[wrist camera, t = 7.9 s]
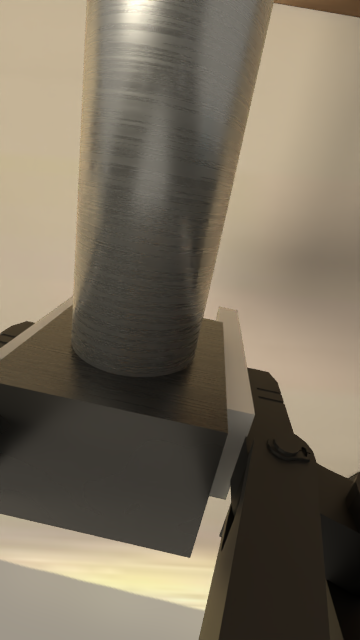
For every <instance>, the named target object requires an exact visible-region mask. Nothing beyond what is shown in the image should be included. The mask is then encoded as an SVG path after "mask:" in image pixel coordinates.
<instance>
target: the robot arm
mask: <svg viewBox="0 0 360 640" xmlns="http://www.w3.org/2000/svg"><path fill="white" fill-rule="evenodd" d="M71 305H73V296H72V297H71V298H70V299H68V300H67V301H65V302H64V303H63V304H61V305H60V306H58V307H57V308H56V309H54V310H53V311H51V312H50V313H49V314H47V315H46V316H45V317H43V318H42V319H40V320H39V321H38V322H36V323H33V322H28V321H26V322H23V323H20V324H16V325H13V326H11V327H9V328H8V329H6V330H5V331H3V332H2V333H1V334H0V360H1V359H3V358H4V357H5V356H6V355H8V354H9V353H10V352H12V351H13V350H14V349H16V348H17V347H18V346H19V345H21V344H22V343H23V342H25V341H26V340H27V339H28V338H30V337H31V336H32V335H34V334H35V333H36V332H38V331H39V330H40V329H41V328H43V327H44V326H45V325H47V324H48V323H49V322H51V321H52V320H53V319H54V318H56V317H57V316H58V315H60V314H61V313H62V312H63V311H65V310H66V309H67V308H69V307H70V306H71ZM216 321H219V322H223V333H224V355H225V376H226V398H227V419H228V435H227V438H226V442H225V445H224V448H223V452H222V455H221V458H220V461H219V465H218V468H217V471H216V474H215V478H214V481H213V484H212V488H211V491H210V494H209V496H212V497H216V498H221V499H225V500H226V497H227V494H228V491H229V488H230V485H231V505H230V508H229V510H228V513H227V516H226V519H225V521H224V524H223V527H222V530H221V533H220V535H219V536H220V537H222V538H221V543H220V547H219V552H218V556H217V560H216V565H215V569H214V574H213V578H212V583H211V587H210V592H209V596H208V600H207V605H206V609H205V614H204V618H203V623H202V627H201V632H200V636H199V640H360V473H358V474H356V475H355V476H353V477H351V478H350V479H348V478H345V477H343V476H341V475H339V474H337V473H335V472H333V471H330V470H328V469H326V468H325V467H323V466H321V465H319V464H318V463H316V460H315V457H314V453H313V451H312V450H311V449H310V447H309V446H308V445H307V443H306V442H305V441H303V440H302V439H301V438H299V437H298V436H297V435H295V434H294V433H293V429H292V426H291V423H290V420H289V417H288V414H287V411H286V408H285V404H283V402H284V401H283V398H282V395H281V392H280V389H279V386H278V382H277V381H276V380H275V379H274V378H273V377H272V376H271V375H270V373H269V372H265V371H260V370H256V369H251V368H247V365H246V359H245V353H244V347H243V341H242V336H241V330H240V324H239V318H238V312H237V310H232V309H227V308H223V307H219V309H218V313H217V317H216Z"/></svg>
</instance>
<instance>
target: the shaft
mask: <svg viewBox="0 0 360 640" xmlns="http://www.w3.org/2000/svg"><path fill="white" fill-rule="evenodd" d="M273 3H274V0H87V6H86V28H85V50H84V72H83V94H82V116H81V138H80V160H79V182H78V204H77V226H76V248H75V270H74V291H73V305H71V306H70V307H69V308H67V309H66V310H65V311H63V312H62V313H61V314H60V315H58V316H57V317H56V318H54V319H53V320H52V321H51V322H49V323H48V324H47V325H45V326H44V327H43V328H41V329H40V330H39V331H38V332H36V333H35V334H34V335H32V336H31V337H30V338H28V339H27V340H26V341H25V342H23V343H22V344H21V345H19V346H18V347H17V348H16V349H14V350H13V351H12V352H10V353H9V354H8V355H6V356H5V357H4V358H3V359H1V360H0V514H4V515H8V516H13V517H17V518H21V519H26V520H30V521H34V522H38V523H43V524H47V525H51V526H56V527H60V528H64V529H68V530H73V531H77V532H81V533H86V534H90V535H94V536H99V537H103V538H107V539H111V540H116V541H120V542H124V543H129V544H133V545H137V546H141V547H146V548H150V549H154V550H159V551H163V552H167V553H172V554H176V555H180V556H184V557H189V558H190V556H191V553H192V550H193V546H194V543H195V540H196V537H197V533H198V530H199V527H200V524H201V520H202V517H203V514H204V510H205V507H206V504H207V501H208V497H209V494H210V491H211V488H212V484H213V481H214V478H215V474H216V471H217V468H218V465H219V461H220V458H221V455H222V452H223V448H224V445H225V442H226V438H227V435H228V419H227V398H226V376H225V355H224V333H223V322H219V321H214V320H210V319H205V318H203V316H204V311H205V307H206V302H207V298H208V293H209V289H210V284H211V280H212V276H213V271H214V267H215V262H216V258H217V253H218V249H219V244H220V240H221V235H222V231H223V226H224V222H225V217H226V213H227V208H228V204H229V199H230V195H231V191H232V186H233V182H234V177H235V173H236V168H237V164H238V159H239V155H240V150H241V146H242V141H243V137H244V132H245V128H246V123H247V119H248V114H249V110H250V106H251V101H252V97H253V92H254V88H255V83H256V79H257V74H258V70H259V65H260V61H261V56H262V52H263V47H264V43H265V38H266V34H267V29H268V25H269V21H270V16H271V12H272V7H273Z"/></svg>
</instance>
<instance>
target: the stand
mask: <svg viewBox="0 0 360 640" xmlns="http://www.w3.org/2000/svg"><path fill="white" fill-rule="evenodd" d="M274 3H280V4H286V5H291V6H297V7H303V8H309V9H315V10H321V11H327V12H332V13H338V14H344V15H350V16H356V17H360V0H274Z"/></svg>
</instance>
